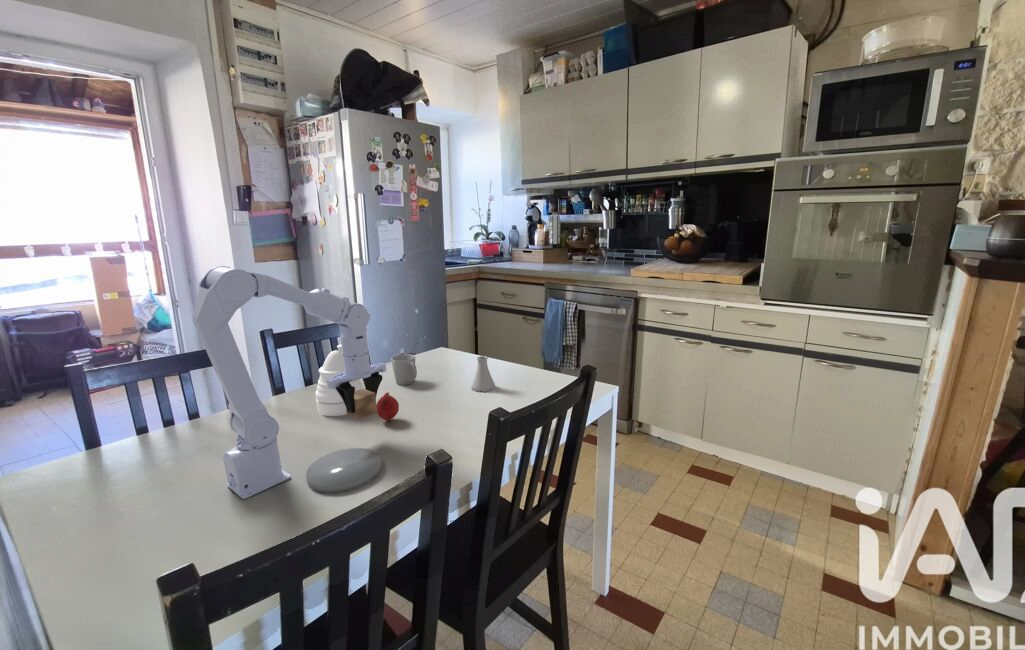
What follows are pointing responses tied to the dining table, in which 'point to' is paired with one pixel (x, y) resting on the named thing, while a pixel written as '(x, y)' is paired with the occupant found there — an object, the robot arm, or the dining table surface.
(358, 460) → the plate
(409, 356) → the cup
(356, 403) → the cube
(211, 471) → the dining table surface
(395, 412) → the onion
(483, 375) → the flask
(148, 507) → the dining table surface
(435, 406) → the dining table surface
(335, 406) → the honey pot
